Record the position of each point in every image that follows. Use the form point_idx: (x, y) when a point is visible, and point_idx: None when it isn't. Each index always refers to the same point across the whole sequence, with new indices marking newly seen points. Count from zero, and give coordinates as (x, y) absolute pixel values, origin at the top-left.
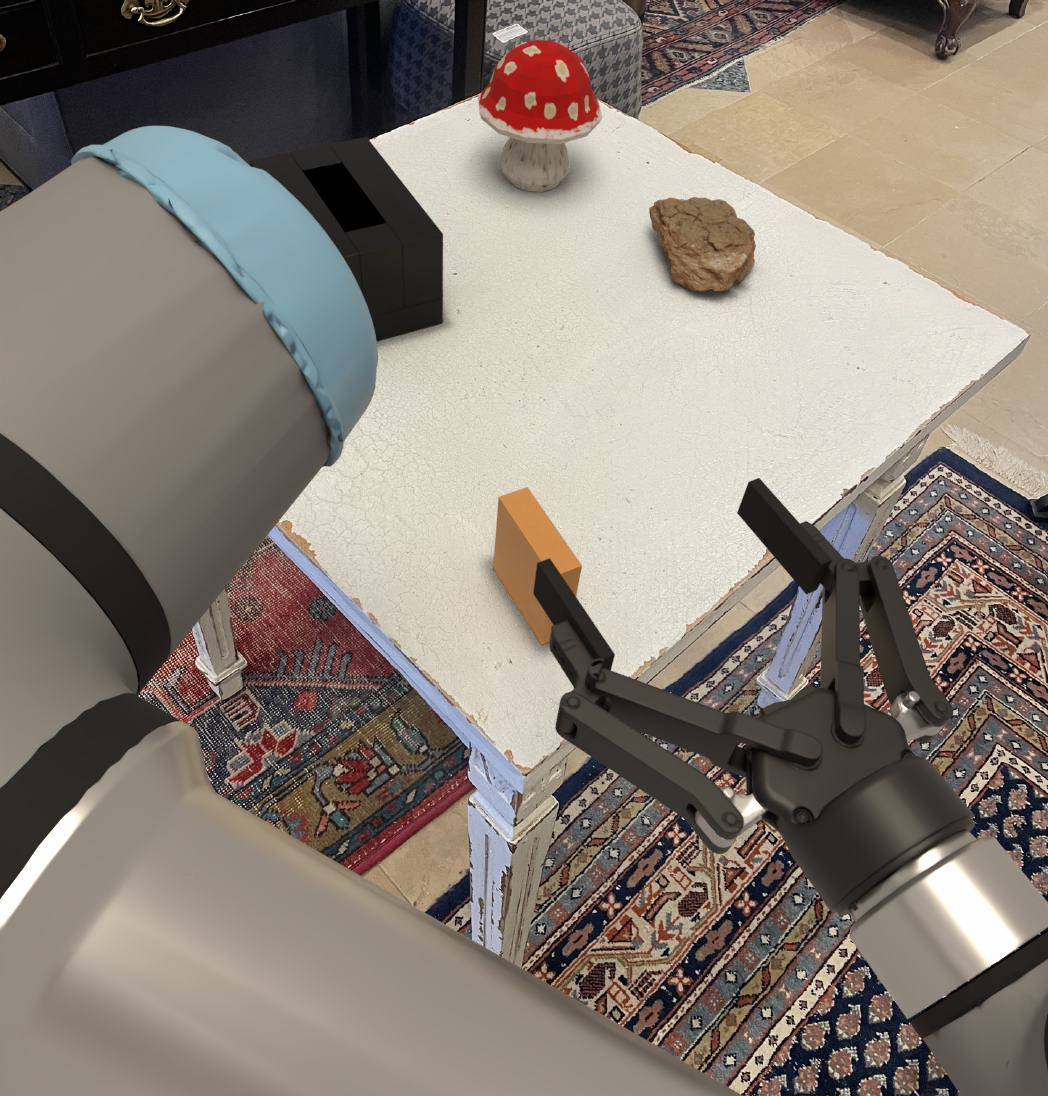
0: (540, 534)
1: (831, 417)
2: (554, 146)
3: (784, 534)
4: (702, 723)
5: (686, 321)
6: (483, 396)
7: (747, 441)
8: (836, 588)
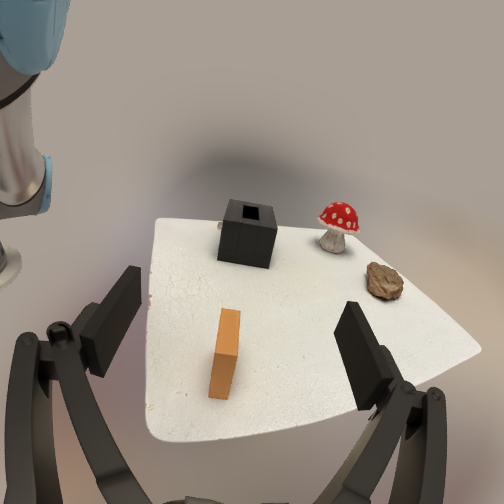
0: (227, 331)
1: (415, 357)
2: (340, 237)
3: (360, 347)
4: (91, 453)
5: (368, 304)
6: (265, 294)
7: None
8: (387, 404)
